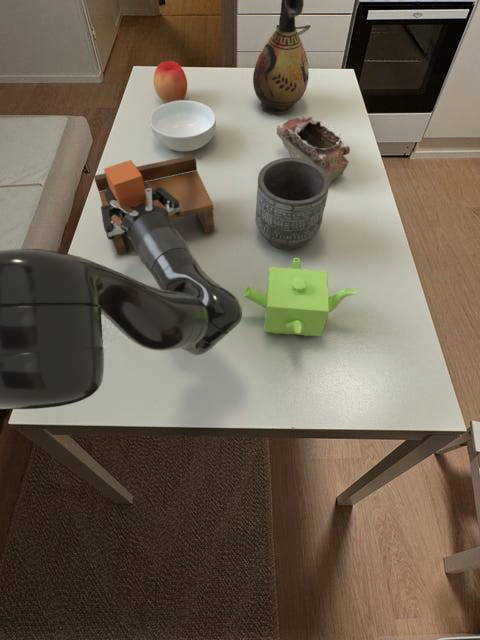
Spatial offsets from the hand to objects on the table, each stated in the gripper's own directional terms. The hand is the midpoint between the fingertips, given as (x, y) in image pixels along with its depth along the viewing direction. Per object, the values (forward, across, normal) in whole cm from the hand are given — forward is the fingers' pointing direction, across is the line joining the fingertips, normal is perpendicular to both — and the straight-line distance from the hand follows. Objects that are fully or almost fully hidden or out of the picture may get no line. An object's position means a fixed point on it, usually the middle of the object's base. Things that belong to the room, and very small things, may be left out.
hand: (123, 187), depth 76 cm
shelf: (+6, -7, +17) cm, 19 cm away
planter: (-11, -31, +18) cm, 37 cm away
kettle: (-31, -19, +18) cm, 40 cm away
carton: (-3, 0, +7) cm, 7 cm away
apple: (+52, -31, +17) cm, 63 cm away
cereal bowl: (+32, -26, +17) cm, 44 cm away
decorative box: (+8, -48, +18) cm, 52 cm away
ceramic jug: (+35, -58, +17) cm, 70 cm away
